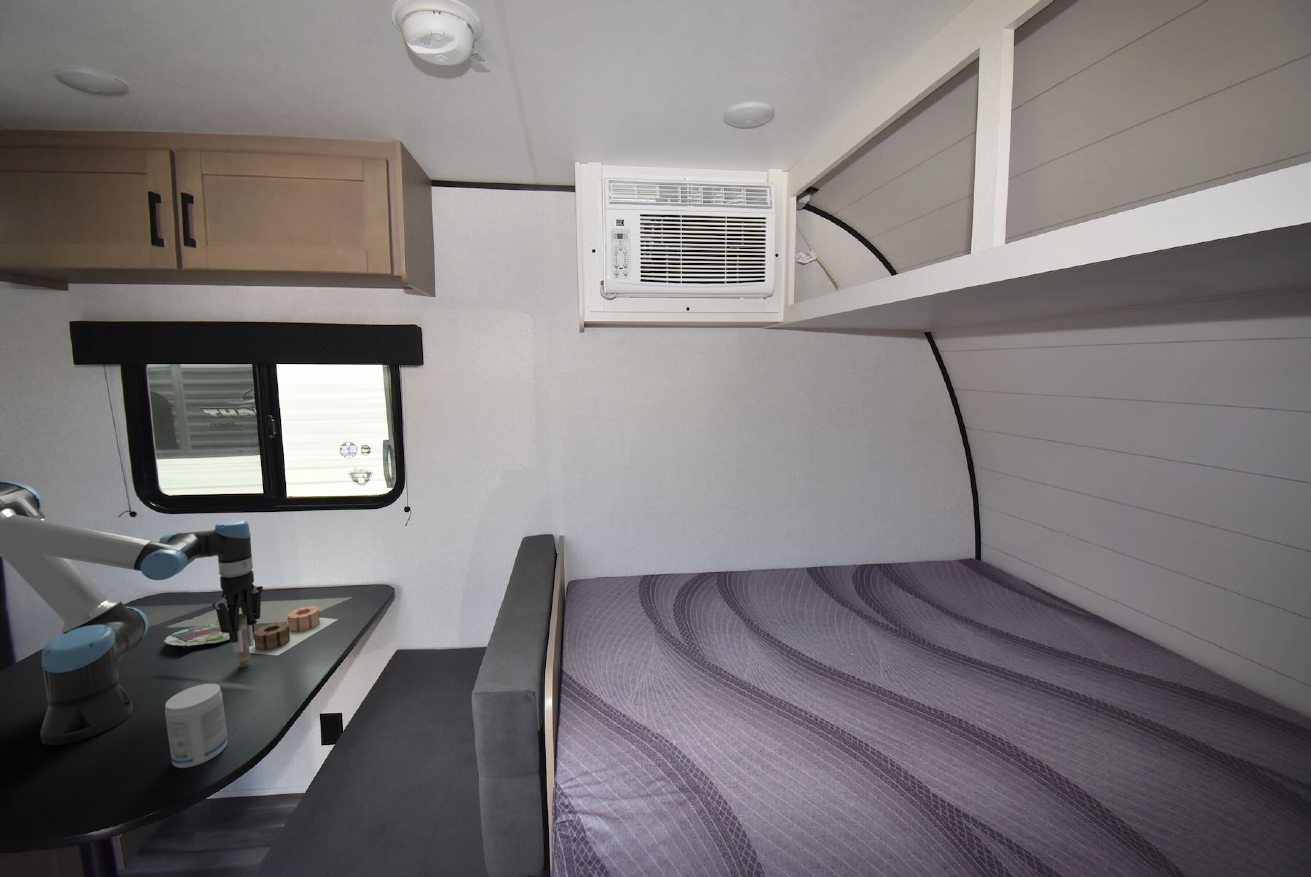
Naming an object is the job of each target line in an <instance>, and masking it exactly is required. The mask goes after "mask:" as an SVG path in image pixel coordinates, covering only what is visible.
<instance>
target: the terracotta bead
mask: <svg viewBox="0 0 1311 877" xmlns="http://www.w3.org/2000/svg"><path fill="white" fill-rule="evenodd" d="M319 618H320V608H319V607H318V606H314V605H310V606H302V607H299V608H295V609H294V610H292V611H289V612H288V613H287V622H288V623H289V631H291V632H298V631H300V632H301V631H305V630H309V628H314V627H316V626H317V625H319V624H320V619H319Z"/></svg>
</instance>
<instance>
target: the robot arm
mask: <svg viewBox="0 0 1311 877" xmlns="http://www.w3.org/2000/svg"><path fill="white" fill-rule="evenodd" d="M42 504H43V502H42V498H41V495H40V494H39V493H38V491H37V490H35V488H33V487H31V486H29V485H28V484H25V483H22V482H18V481H14V480H13V481H12V480H0V556H2V558H3V559H4V560H5V561H6V562H7V563H8V564H9V565H10V566H11V568H13V569H14V570H15V571H16V573H18V574H19V575H20V577H22V578H23V580H24V581H25V582H26V583H27V584H28V585H29V586H30V587H31V588H32V589H33V590H34V591H35V592H36V593H37V594H38V596H39V597H40V598H41V599H43V601H44V602H45V603H46V604H47V605H48V606H49V607H50V608H51V609H52V611H54V612H55V613H56V615H57V616H58V617H59V618H60V619H62V621H63V622H64V624H63V627H62V628H61V632H62V634H61V633H60V634H59V635H57V636H56V637H54V638H53V639H51V640H49V642H47V643H46V644H45V646H44V647H43V649H42V652H41V662H40V663H41V667H42V670H43V671H42V672H43V679H44V685H45V690H46V698H47V705H48V706H47V707H48V708H47V710H46V712H45V717H44V719H43V722H42V725H41V728H40V732H39V734H40V741H41V744H43V745H46V746H61V745H62V746H63V745H68V744H73V743H76V742H80V741H83V740H86V739H89V738H92V737H94V736H97V735H99V734H102V733H104V732H106V731H108V730H110V729H112V728H114V727H115V726H116V727H117V726H118V725H119V724H120V723H122V722H123V721H125V720H127V718H128V717H130V716H131V714H132V713H133V710H134V706H133V701H132V699H131V697H130V696H129V695H128V693H127V692H126V691H125V689H124V688H123V687H122V685H121V683H120V675H119V666H118V664H119V662H120V661H122V660H123V659H124V658H125V657H126V656H127V655H128V654H129V653H130V652H131V651H132V650H134V649H135V648H136V647H137V646H138V645H140V643H141V642H142V641H143V638H144V637H145V636H146V635H147V632H148V629H149V620H148V617H147V615H146V614H145V613H144V612H143V611H142V610H140V609H138V608H136V607H130V606H126V605H124V603H123V602H122V601H121V600H119V599H109V598H108V597H107V596H106V595H105V594H104V593H103V592H102V591H101V589H100V588H98V586H97V585H96V584H95V583H94V582H93V580H91V578H89V576H88V575H87V574H86V573H85V572H84V571H83V569H82V568H80V566H79V565H78V564H77V563H76V562H75V561H78V562H84V563H85V562H86V563H90V564H97V565H104V566H108V567H114V568H121V569H126V570H133V571H136V572H137V571H138V572H141V573H142V576H145V577H146V578H147V579H149V580H153V581H164V580H167V579H170V578H173V577H174V576H176V575H178V574H180V573H181V572H182V571H183V570H184V569H185V568H186V567H187V566H188V565H189V564H191V563H192V562H193V561H195V560H196V559H201V558H211V557H215V556H216V557H217V561H218V562H217V563H218V575H219V576H220V577H219V583H220V584H219V585H220V589H221V590H222V595H221V598H220V600H218V601H217V602H216V601H215V602H213V603H212V607H213V609H214V610H215V611H216V616H217V621H218V623H219V625H220V629H221V632H222V633H229V637H230V640H229V642H230V643H231V644H232V652H233V653H234V652H237V653H238V652H242V651H243V642H242V630H238V629H239V614H240V610H241V614H245V615H246V617H247V629H248V640H249V646H253V645H254V643H253V640H254V632H255V625H256V624H257V623H258V620H259V619H260V618H261V604H262V601H261V600H262V592H263V590H264V587H263V586H261V585H255V584H254V581H255V577H254V576H255V574H254V570H253V567H254V565H253V564H254V563H253V555H252V545H251V544H252V542H251V536H252V534H251V532H250V531H251V530H250V525H249V522H248V521H247V520H245V519H231V520H224V521H221V522H218V523H217V524H215V525H214V529H211V530H202V531H201V530H200V531H191V532H176V533H171V534H165V535H164V536H161V538H160V539H159V541H153V540H148V539H142V538H139V537H138V538H137V537H133V536H127V535H122V534H117V533H113V532H107V531H101V530H97V529H92V528H87V527H82V526H77V525H71V524H67V523H61V522H57V521H56V522H55V521H51V520H48V519H47V517H46V515H44V514H43V513H42V511H41V508H42Z"/></svg>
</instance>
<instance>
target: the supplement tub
mask: <svg viewBox="0 0 1311 877" xmlns="http://www.w3.org/2000/svg"><path fill="white" fill-rule="evenodd" d="M164 708H165V709H164V713H165V714H164V715H165V716H164V717H165V721H166V730H167V737H168V744H169V751H170V758H171V763H172V765H173V766H174V767H176V768H178V769H187V768H191V767H196V766H198V765H201V764H204V763H206V762H208V761H210V760H211V759H213V758H215V757H217V756H218V755H220V753H221V752H222V751H223V750H224V749H225V748H226V746H227V744H228V731H227V725H226V716H225V708H224V699H223V693H222V690H221V686H220V685H219V684H217V683H204V684H198V685H195V686H191V687H188V688H185V689H184V690H181V691H179V692H178V693H176V694H174V695H173V696H171V697H169V699H168V700H167V701H166V702H165V705H164Z"/></svg>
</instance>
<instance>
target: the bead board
mask: <svg viewBox="0 0 1311 877" xmlns="http://www.w3.org/2000/svg"><path fill="white" fill-rule="evenodd" d="M319 619H320V624H319V625H317V626H316V627H314V628H309V630H305V631H301V632H300V631H298V632H291V631H289V634H290V641H288V643H286V644H285V645H283V646H281V647H280V646H278V648H275V649H271V650H267V649H266V650H265V651H260V650H256V649H255V640H254V639H253V643H254V645H253V646H249V651H250V654H259V655H268V656H280V655H281V654H283V653H285V652H286V651H288V650H289V649H291V648H293V647H294V646H296V645H298V644H299V643H301V642H303V641H305V640H307V639H308V638H309V637H311V636H313V635H315V634H316V633H318V632H319V631H321V630H323V629H325V628H326V627H328V626H330V625H331V624H333V623H335V622H337V621H338V620H339V619H338V618H330V617H329V618H327V617H319ZM286 623H288V621H286Z"/></svg>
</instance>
